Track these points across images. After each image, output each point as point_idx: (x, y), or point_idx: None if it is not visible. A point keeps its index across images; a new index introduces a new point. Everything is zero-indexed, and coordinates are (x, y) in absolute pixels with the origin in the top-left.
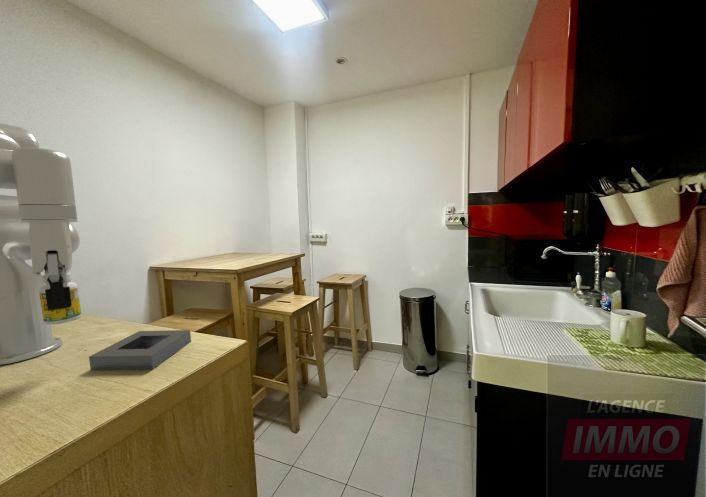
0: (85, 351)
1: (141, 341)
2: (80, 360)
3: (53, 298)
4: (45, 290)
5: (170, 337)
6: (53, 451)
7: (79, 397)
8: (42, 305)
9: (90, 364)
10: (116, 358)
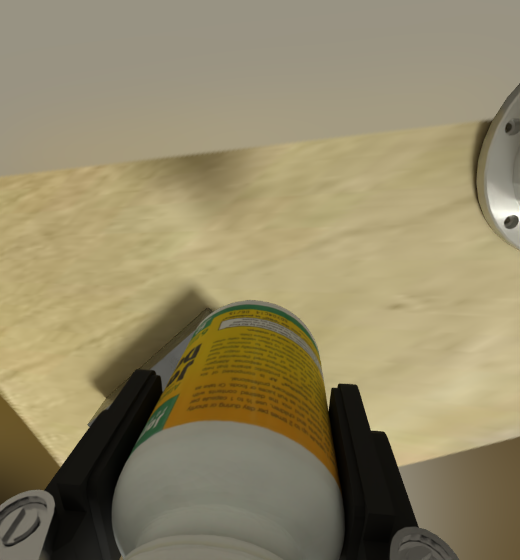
0: (385, 305)
1: None
2: (313, 292)
3: (79, 445)
4: (60, 478)
5: None
6: None
7: (65, 282)
8: (204, 358)
9: (203, 316)
10: (147, 369)
